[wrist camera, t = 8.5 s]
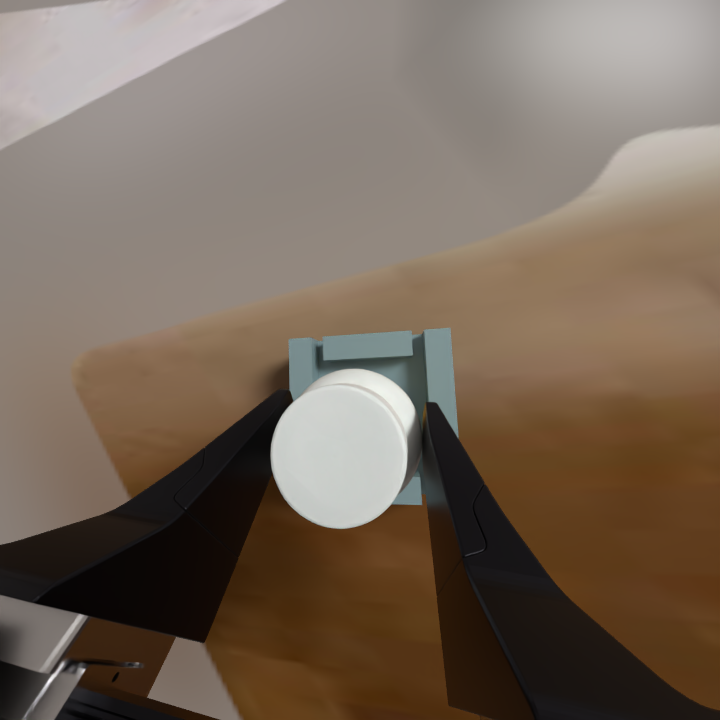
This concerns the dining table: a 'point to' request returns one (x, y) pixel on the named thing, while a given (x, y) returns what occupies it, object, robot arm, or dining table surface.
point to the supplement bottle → (346, 448)
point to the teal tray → (385, 373)
